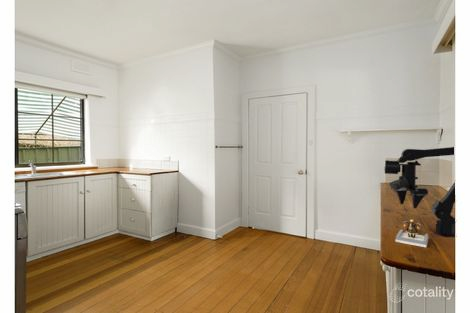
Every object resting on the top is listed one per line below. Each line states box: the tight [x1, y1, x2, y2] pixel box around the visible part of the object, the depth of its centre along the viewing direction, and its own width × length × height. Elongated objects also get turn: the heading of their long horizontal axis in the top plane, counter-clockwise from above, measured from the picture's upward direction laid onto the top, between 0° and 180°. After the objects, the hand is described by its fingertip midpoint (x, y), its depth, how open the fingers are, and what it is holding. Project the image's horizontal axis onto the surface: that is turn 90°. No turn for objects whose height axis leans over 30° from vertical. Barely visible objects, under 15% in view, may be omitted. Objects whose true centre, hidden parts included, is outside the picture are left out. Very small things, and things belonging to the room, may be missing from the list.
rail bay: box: [395, 228, 429, 248], centre depth 115 cm, size 13×11×2 cm
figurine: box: [403, 219, 422, 239], centre depth 116 cm, size 5×5×8 cm
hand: (408, 206), depth 129 cm, fingers open, 9 cm apart
